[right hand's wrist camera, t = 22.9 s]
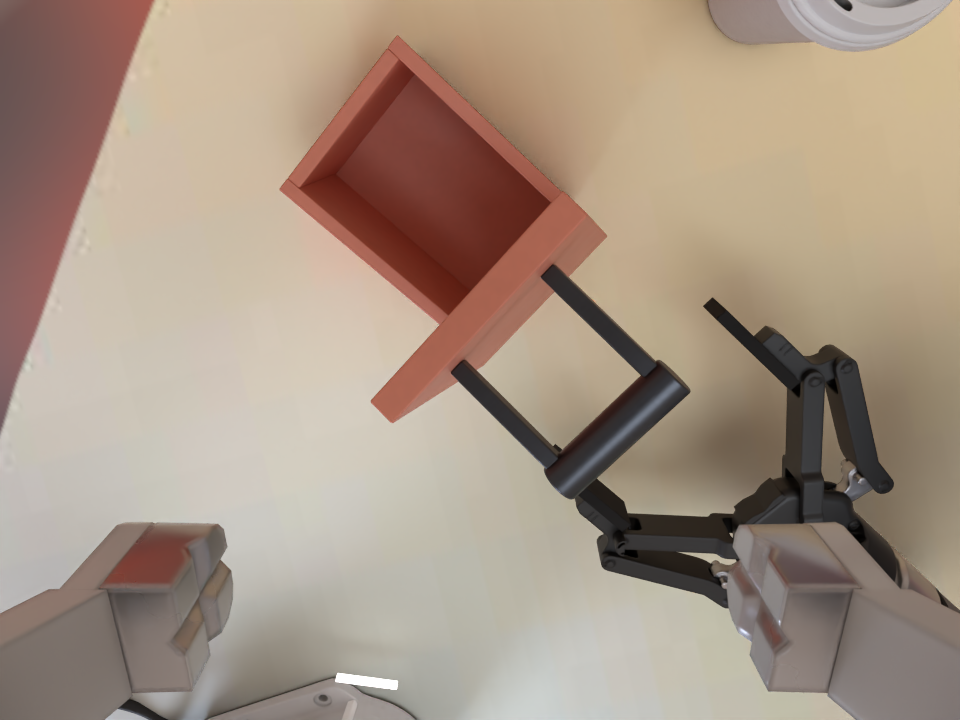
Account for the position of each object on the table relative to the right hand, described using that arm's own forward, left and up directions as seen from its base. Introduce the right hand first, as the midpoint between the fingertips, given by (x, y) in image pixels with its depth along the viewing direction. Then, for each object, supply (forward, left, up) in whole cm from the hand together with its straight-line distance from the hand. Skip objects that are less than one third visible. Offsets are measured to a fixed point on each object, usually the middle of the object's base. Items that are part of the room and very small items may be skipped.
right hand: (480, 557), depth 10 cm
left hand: (+7, -11, -28) cm, 31 cm away
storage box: (-2, +2, -38) cm, 38 cm away
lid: (+1, -1, -20) cm, 20 cm away
